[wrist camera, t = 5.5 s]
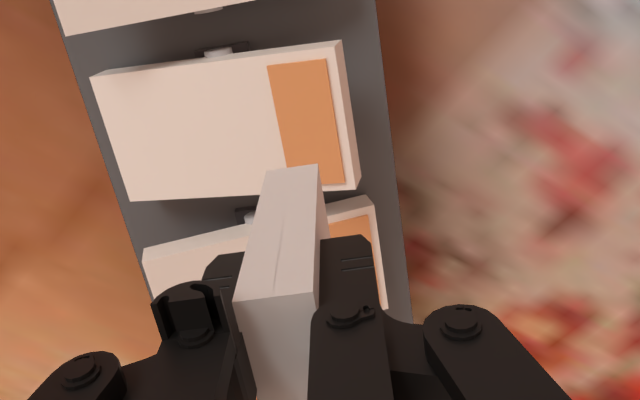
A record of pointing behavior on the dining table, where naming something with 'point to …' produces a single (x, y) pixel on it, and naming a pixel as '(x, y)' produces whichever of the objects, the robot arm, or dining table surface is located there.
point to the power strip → (247, 35)
